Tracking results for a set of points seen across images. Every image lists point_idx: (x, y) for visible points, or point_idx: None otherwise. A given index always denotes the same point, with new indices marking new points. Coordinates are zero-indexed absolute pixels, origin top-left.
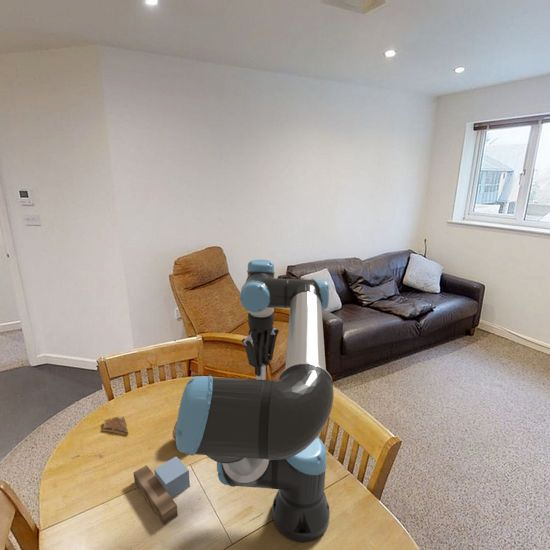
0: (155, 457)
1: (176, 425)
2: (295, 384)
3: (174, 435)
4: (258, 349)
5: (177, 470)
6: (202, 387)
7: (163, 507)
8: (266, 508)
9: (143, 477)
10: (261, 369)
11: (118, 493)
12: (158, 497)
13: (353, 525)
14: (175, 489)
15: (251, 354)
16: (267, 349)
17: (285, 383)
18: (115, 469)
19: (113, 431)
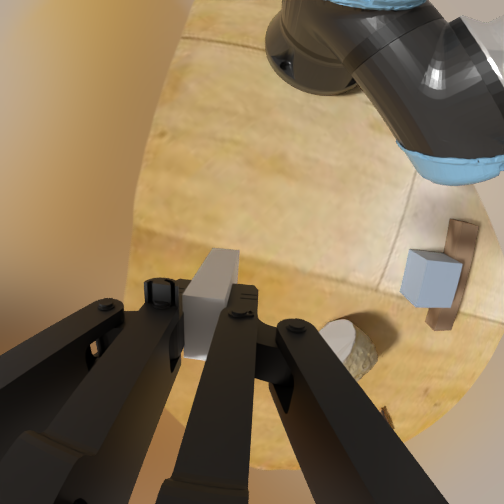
0: (395, 344)
1: (364, 373)
2: None
3: (377, 356)
4: (248, 464)
5: (437, 275)
6: None
7: (472, 236)
8: (354, 101)
9: (452, 310)
10: (227, 295)
11: (461, 317)
12: (466, 258)
13: None
14: (438, 255)
15: (395, 433)
16: (93, 383)
17: None
18: (436, 359)
19: (388, 422)
